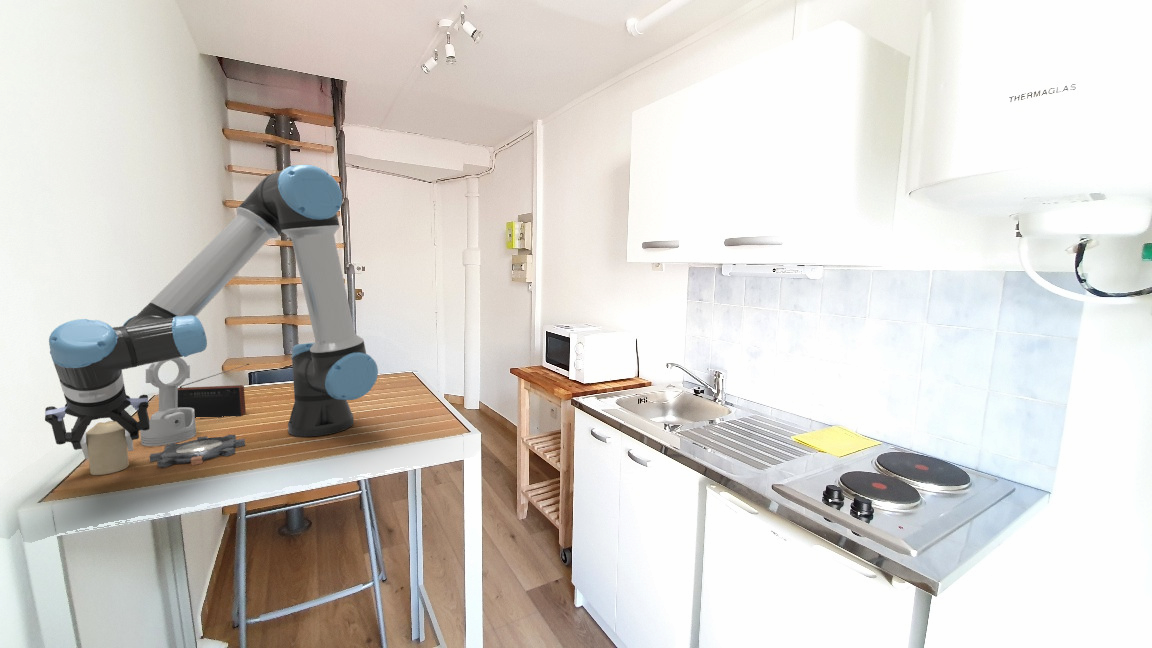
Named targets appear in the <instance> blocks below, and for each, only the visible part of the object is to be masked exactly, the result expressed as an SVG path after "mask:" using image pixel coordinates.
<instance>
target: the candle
mask: <svg viewBox="0 0 1152 648" xmlns="http://www.w3.org/2000/svg"><path fill="white" fill-rule="evenodd" d="M86 437H87V447H88V456H89V459H88V463H89V472H90V475H92V476H104V475H109V474H114V473H117V472H121V471H123V470H126V469H127V468H128V467H129V464H130V463H129V455H128V452H129V451H128V448H127V442H126V437H125V429H124V428H123V427H122V426H121V425H120V424H118V423H117V422H116V421H113V420H108V421H106V422H97V423H96V424H95V425H94V426H93V427H91V428H90V429H88V430H86Z"/></svg>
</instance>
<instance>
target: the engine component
mask: <svg viewBox="0 0 1152 648" xmlns="http://www.w3.org/2000/svg"><path fill="white" fill-rule="evenodd" d="M169 361H171V362H174V363H175V364H176V366H177V367H178V373H177V376H176V377H175V378H174V380H173V381H171V382H169V383H164V382H163V381H161V379H160V376H159V371H160V369H161V367H162V366H163V365H164V364H165V363H166V362H169ZM148 366H149V367H148V368H146V369H145V384H151V385H152V386H153V387H155V388H157V389H158V411H156V412H155V413H153V414H151V416H150V419H149V427H150V429H149V430H145V431H144V430H140V431H139V436H140V444H141V445H142V446H143V447H144V446H145V447H160V446H167V445H170V444H173V443H174V444H179V443H181V442H182V443H183V442H184V441H185V442H186V441H188V440H190V438H191V439H193V438H194V437H196V436H195V435H197V426H196V425H197V424H196V419H195V413H194V409H193V408H186V407H183V408H178V388H179V387H180V386H182V384H183V383H185V381H186V380H187V379H190V378H191V365H189V364H188V363H187V362H186V361H185V359H183V357H179V358H174V359H169V360H164V361H160V362H155V363H150V365H148ZM192 437H193V438H192Z"/></svg>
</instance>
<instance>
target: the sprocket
mask: <svg viewBox="0 0 1152 648" xmlns="http://www.w3.org/2000/svg"><path fill="white" fill-rule="evenodd" d="M245 444H246V440H245V438H241V439H237V436H236V434H227V435H224V436H216V437H215V436H213V437H208V435H206V436H205V435H204V436H199V437H197V439H192V440H189V441H188V440H187V441H185V442H184V441H183V442H182V443H181V442H180V443H173V444H168V445H164V450H163V451H161V452H156V453H151V454H150V455H149V462H150V463H152V462H157V468H168V467H170V466H173V465H183V464H184V465H185V464H190V466H196V465H201V464H203V463H202V462H204V461H209V460H211V459H215V458H219V457H229V456H232V455H234V454H236V448H239V447H244V446H246V445H245Z"/></svg>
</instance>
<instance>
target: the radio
mask: <svg viewBox="0 0 1152 648" xmlns="http://www.w3.org/2000/svg"><path fill="white" fill-rule="evenodd" d="M245 366H250V363H246V364H244V365H241V366H237V367H235V368H231V369H229V370H226V371H222V372H220V373H216V374H213V375H210V376H207V377H204V378H200V379H197V380H195V381H190V382H189V383H184V384H183V385H182V384H181V385H179V387H178V408H183V407H186V408H193V409H194V413H195V418H196V417H218V418H225V417H224V416H236V417H241V415H242V416H243V415H246V411H247V410H246V398H245V397H246V396H245V386H244V385H243V384H242V385H236V384H235V385H218V386H213V385H212V386H190V387H189V385H190V384H194V383H197V382H201V381H203V380H206V379H209V378H211V377H215V376H218V375H222V374H223V373H226V372H230V371H233V370H236V369H239V368H242V367H245ZM185 386H188V387H185ZM222 416H223V417H222Z"/></svg>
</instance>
